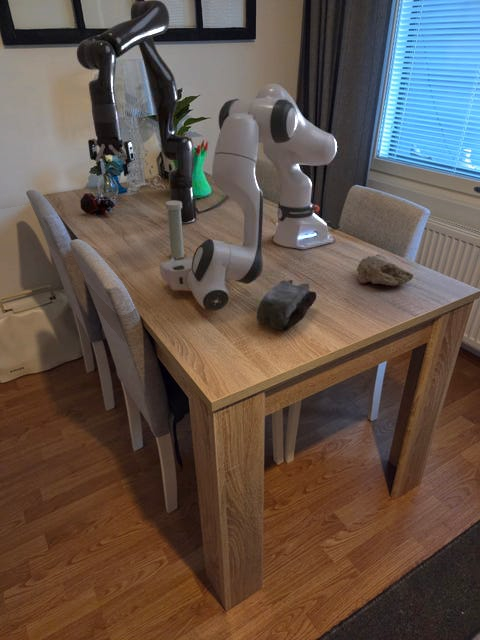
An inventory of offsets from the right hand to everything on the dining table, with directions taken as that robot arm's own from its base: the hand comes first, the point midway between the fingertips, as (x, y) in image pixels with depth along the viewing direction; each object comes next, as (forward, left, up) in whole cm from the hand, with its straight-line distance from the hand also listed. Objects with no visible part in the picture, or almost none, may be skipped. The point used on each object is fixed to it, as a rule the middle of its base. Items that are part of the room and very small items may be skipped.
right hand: (188, 257), depth 139 cm
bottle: (0, -15, -6) cm, 16 cm away
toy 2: (-22, -85, -6) cm, 88 cm away
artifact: (-55, +23, -6) cm, 60 cm away
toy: (+23, -69, -6) cm, 73 cm away
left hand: (+17, -23, +21) cm, 35 cm away
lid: (0, -15, +13) cm, 19 cm away
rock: (-18, +35, -6) cm, 40 cm away
